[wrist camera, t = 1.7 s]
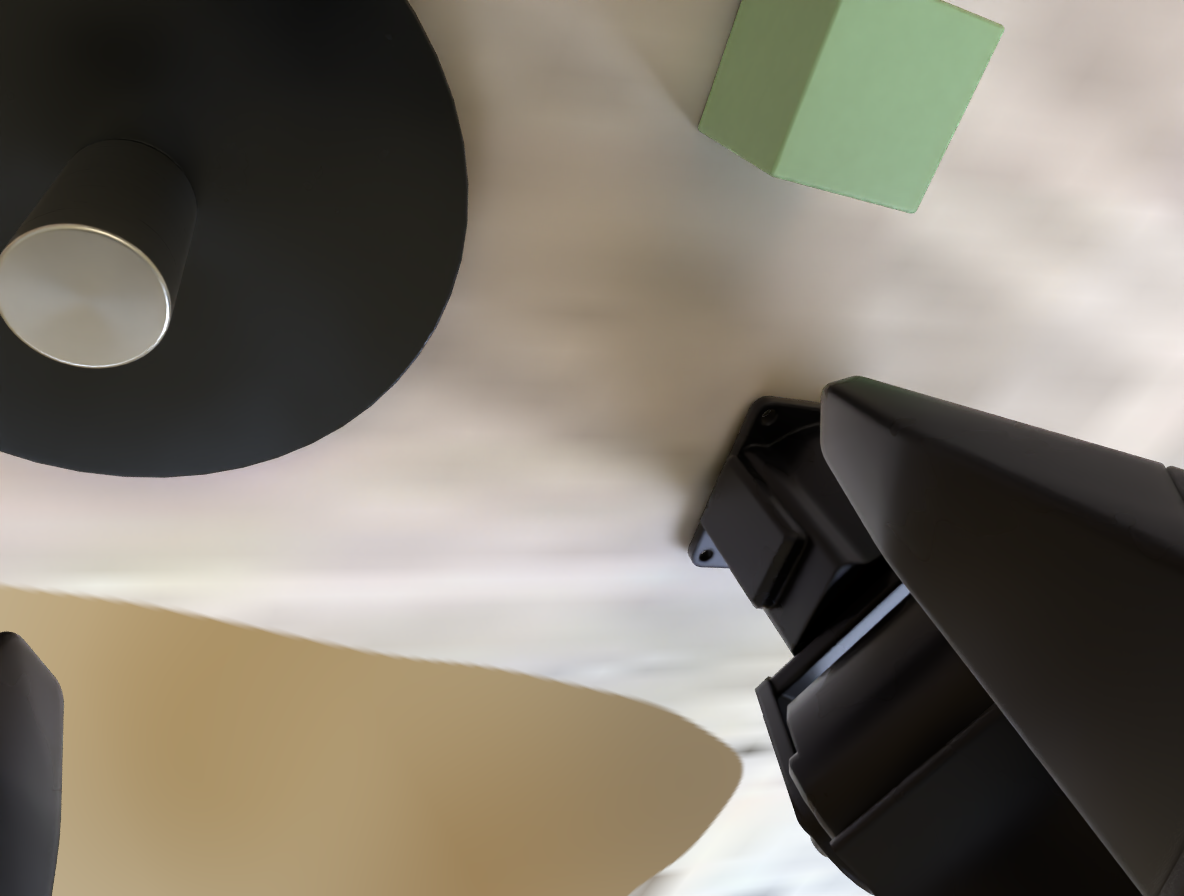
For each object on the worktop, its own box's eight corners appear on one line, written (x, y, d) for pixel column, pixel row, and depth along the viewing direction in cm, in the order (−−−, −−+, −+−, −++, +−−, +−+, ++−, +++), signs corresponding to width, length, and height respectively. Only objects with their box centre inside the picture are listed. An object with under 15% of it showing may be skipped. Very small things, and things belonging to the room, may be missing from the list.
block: (895, 2, 20) (1007, 26, 17) (826, 166, 22) (916, 215, 19) (757, -52, 19) (854, -37, 15) (695, 130, 20) (770, 176, 17)
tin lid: (524, -71, 17) (617, -48, 12) (403, 473, 24) (434, 628, 19) (-394, -398, 12) (-865, -587, 7) (-226, 424, 18) (-410, 624, 13)
